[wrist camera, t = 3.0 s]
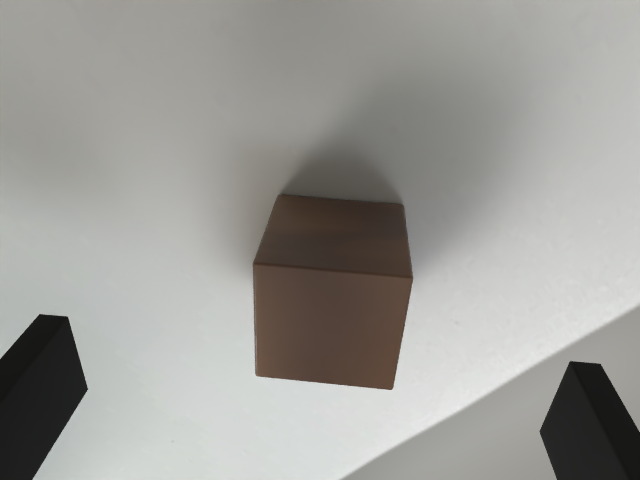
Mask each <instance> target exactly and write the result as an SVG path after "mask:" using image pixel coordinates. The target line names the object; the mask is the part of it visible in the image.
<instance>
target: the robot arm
mask: <svg viewBox="0 0 640 480" xmlns="http://www.w3.org/2000/svg"><path fill="white" fill-rule="evenodd" d="M87 390H88V388H87V384H86V381H85V377H84V373H83V370H82V366H81V362H80V359H79V355H78V352H77V348H76V344H75V341H74V337H73V334H72V330H71V326H70V323H69V319H68V317H66V316H55V315H43V314H39V315H38V317H37V318H36V319H35V320H34V321H33V322H32V323H31V325H30V326H29V327H28V328H27V329H26V330H25V331H24V333H23V334H22V335H21V336H20V337H19V338H18V339H17V341H16V342H15V343H14V344H13V345H12V346H11V347H10V349H9V350H8V351H7V352H6V353H5V354H4V355H3V357H2V358H1V359H0V480H32V479H33V477H34V476H35V474H36V473H37V471H38V469H39V468H40V466H41V464H42V463H43V461H44V460H45V458H46V456H47V455H48V453H49V451H50V450H51V448H52V447H53V445H54V443H55V442H56V440H57V439H58V437H59V435H60V434H61V432H62V430H63V429H64V427H65V426H66V424H67V422H68V421H69V419H70V417H71V416H72V414H73V413H74V411H75V409H76V408H77V406H78V404H79V403H80V401H81V400H82V398H83V396H84V395H85V393H86V392H87ZM540 434H541V437H542V440H543V442H544V445H545V448H546V450H547V453H548V456H549V459H550V462H551V464H552V467H553V470H554V472H555V475H556V478H557V480H640V432H639V430H638V429H637V427H636V425H635V423H634V422H633V420H632V418H631V416H630V415H629V413H628V411H627V410H626V408H625V406H624V405H623V402H622V401H621V399H620V397H619V396H618V394H617V392H616V391H615V388H614V387H613V385H612V383H611V381H610V380H609V378H608V376H607V375H606V373H605V371H604V369H603V367H602V366H601V364H596V363H584V362H573V361H570V362H569V365H568V367H567V369H566V372H565V374H564V376H563V379H562V381H561V383H560V385H559V388H558V390H557V392H556V395H555V397H554V399H553V402H552V404H551V406H550V409H549V411H548V413H547V416H546V418H545V420H544V423H543V425H542V427H541V429H540Z"/></svg>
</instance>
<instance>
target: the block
mask: <svg viewBox="0 0 640 480" xmlns="http://www.w3.org/2000/svg"><path fill="white" fill-rule="evenodd" d="M412 282H413V272H412V265H411V257H410V250H409V243H408V235H407V228H406V220H405V213H404V206H403V205H398V204H386V203H375V202H363V201H351V200H339V199H327V198H315V197H303V196H291V195H278V196H277V199H276V202H275V204H274V207H273V210H272V213H271V215H270V218H269V221H268V224H267V226H266V229H265V232H264V235H263V237H262V240H261V243H260V246H259V248H258V251H257V254H256V256H255V259H254V262H253V289H254V332H255V374H256V376H259V377H269V378H279V379H289V380H299V381H309V382H318V383H328V384H338V385H348V386H358V387H367V388H377V389H387V390H392V389H393V386H394V380H395V375H396V370H397V364H398V359H399V353H400V348H401V342H402V337H403V331H404V326H405V321H406V315H407V310H408V304H409V299H410V293H411V288H412Z"/></svg>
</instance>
